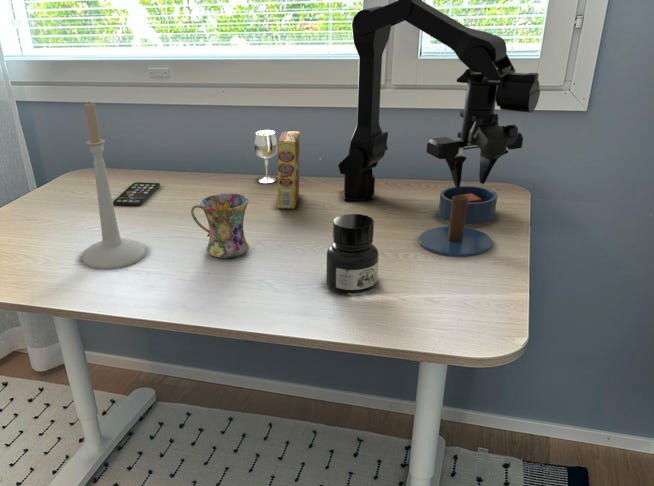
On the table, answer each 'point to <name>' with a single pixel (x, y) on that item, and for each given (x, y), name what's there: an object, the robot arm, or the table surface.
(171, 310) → the table surface
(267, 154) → the wineglass
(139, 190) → the smartphone
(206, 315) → the table surface
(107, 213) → the candlestick
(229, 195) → the mug
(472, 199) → the block
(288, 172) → the candy box
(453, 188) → the tin
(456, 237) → the tin lid
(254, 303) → the table surface
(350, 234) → the ink bottle
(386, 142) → the robot arm
